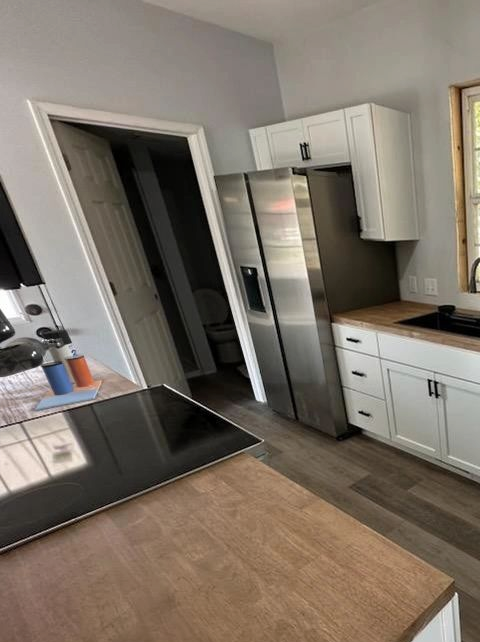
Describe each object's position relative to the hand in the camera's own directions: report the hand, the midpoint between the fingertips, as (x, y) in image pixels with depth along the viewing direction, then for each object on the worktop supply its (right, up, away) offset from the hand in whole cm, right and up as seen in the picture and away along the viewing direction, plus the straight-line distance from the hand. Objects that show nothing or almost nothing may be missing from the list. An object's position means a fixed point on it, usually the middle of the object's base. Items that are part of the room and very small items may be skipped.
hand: (34, 344), depth 132 cm
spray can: (-16, -12, +28) cm, 34 cm away
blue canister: (-6, -16, +14) cm, 22 cm away
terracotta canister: (-6, -13, +22) cm, 26 cm away
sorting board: (-2, -17, +13) cm, 21 cm away
